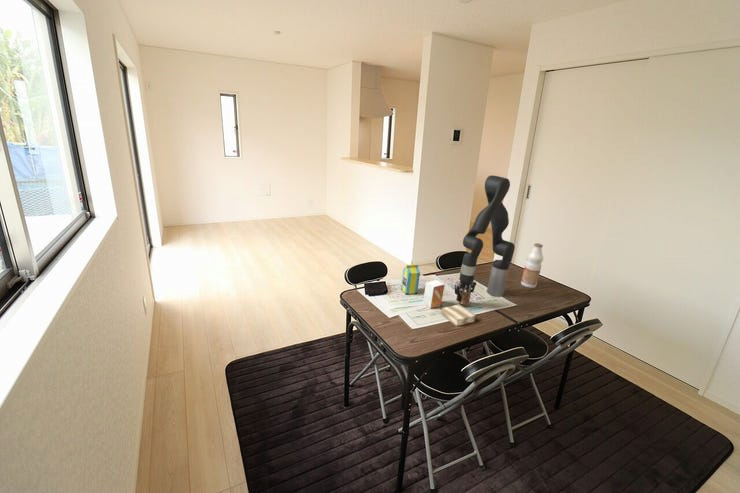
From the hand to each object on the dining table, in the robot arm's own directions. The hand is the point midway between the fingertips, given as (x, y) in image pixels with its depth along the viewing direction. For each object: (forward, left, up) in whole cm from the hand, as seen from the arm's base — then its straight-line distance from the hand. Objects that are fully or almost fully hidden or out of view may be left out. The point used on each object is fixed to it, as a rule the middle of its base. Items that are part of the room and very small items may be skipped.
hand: (462, 300), depth 192 cm
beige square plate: (+12, +10, -3) cm, 16 cm away
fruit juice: (-62, -5, -3) cm, 62 cm away
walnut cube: (0, 0, -1) cm, 1 cm away
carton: (+19, -24, -3) cm, 31 cm away
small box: (+16, -6, -3) cm, 18 cm away
